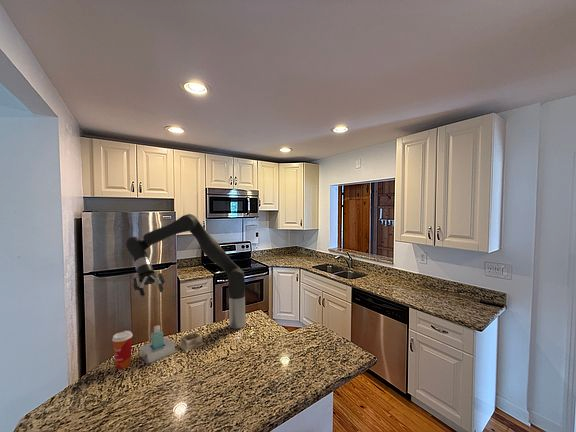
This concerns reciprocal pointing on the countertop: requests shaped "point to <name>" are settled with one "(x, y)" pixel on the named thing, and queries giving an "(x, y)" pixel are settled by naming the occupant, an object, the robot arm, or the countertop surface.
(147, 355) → the block
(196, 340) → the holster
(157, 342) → the teal bottle
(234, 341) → the countertop surface
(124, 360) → the paper cup
